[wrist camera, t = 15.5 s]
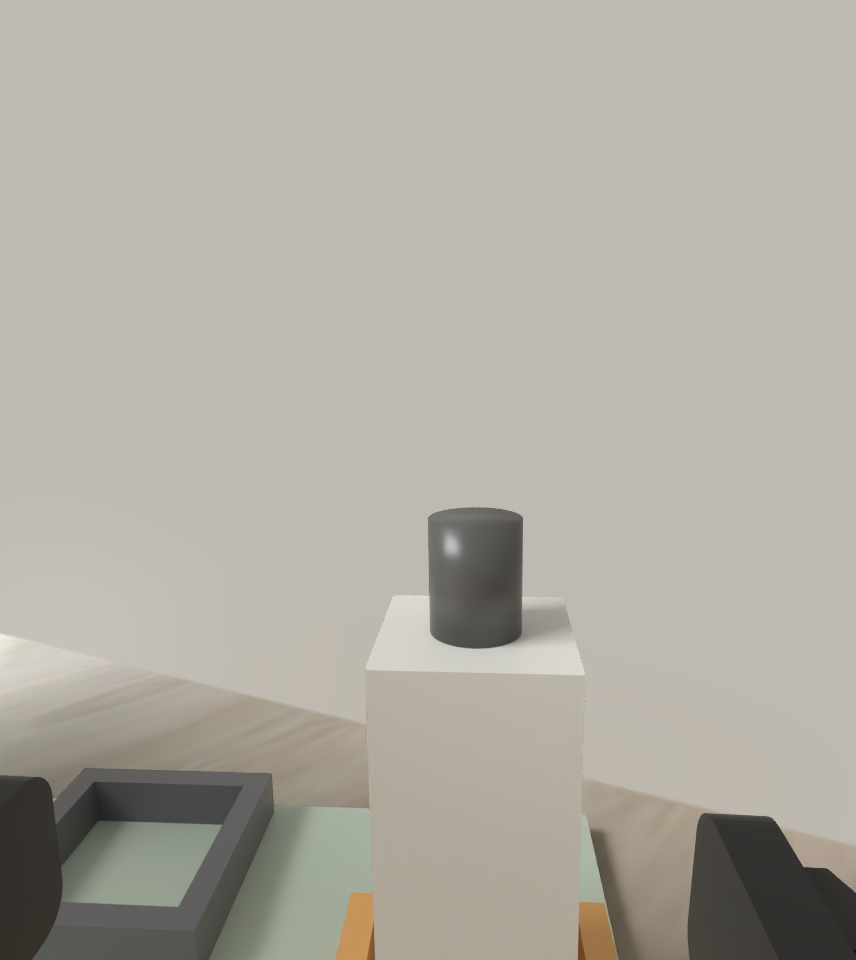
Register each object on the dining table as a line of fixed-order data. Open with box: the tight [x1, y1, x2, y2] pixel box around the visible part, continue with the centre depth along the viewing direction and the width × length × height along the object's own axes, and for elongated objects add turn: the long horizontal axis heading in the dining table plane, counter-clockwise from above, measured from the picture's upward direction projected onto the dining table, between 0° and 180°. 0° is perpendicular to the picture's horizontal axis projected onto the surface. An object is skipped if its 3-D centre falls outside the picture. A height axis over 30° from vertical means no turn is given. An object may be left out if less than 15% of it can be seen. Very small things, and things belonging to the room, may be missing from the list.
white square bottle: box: [365, 508, 585, 960], centre depth 19 cm, size 5×5×17 cm
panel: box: [32, 768, 619, 960], centre depth 25 cm, size 26×17×3 cm, turn 86°
